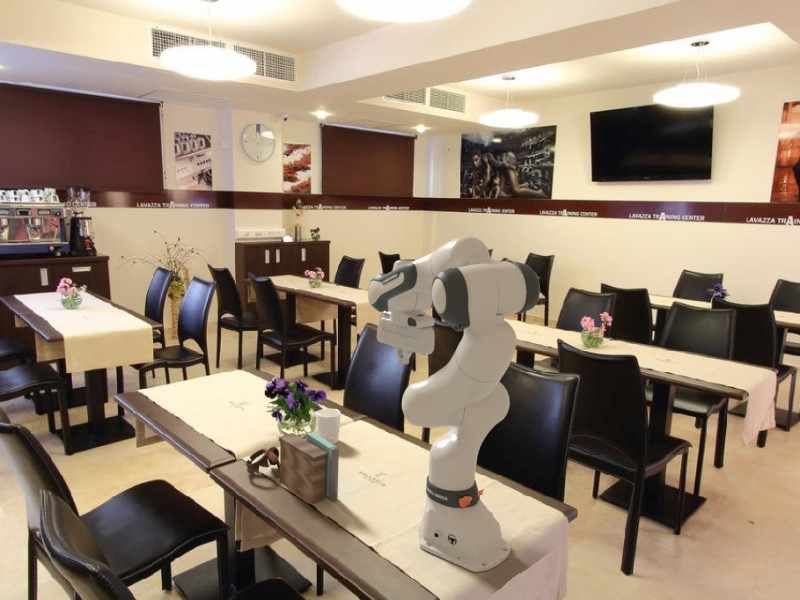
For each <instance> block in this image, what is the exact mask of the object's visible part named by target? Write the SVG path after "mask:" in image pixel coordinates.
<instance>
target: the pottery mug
mask: <svg viewBox="0 0 800 600" xmlns="http://www.w3.org/2000/svg"><path fill="white" fill-rule="evenodd" d="M279 450H280V449H278V447H276V446H272V447H270V448H268V449H267V448H261V449H258V450H257V451H255V452H253V454H251V455H250V456H249V459H247V461H245V466H246V468H247V469H246V472H247V473H249V474H253V473H257V474H260V467H261V468H269V467H270V466H276V467H277V469H276V471H275V474H276V476H277V478H278V479H280V460H279V459H280V451H279ZM260 456H262V457H261V458H260V459H258V460H257V461H255V460H256V459H257V458H259V457H260Z"/></svg>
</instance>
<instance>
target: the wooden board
mask: <svg viewBox="0 0 800 600" xmlns="http://www.w3.org/2000/svg"><path fill="white" fill-rule="evenodd" d="M278 442H280V443H279V448H280V449H279V450H280V451H279V459H280V460H279V462H280V477H279V481H280V482H281V483H282V482H283V483H282V484H284V486H287V487H288V488H289V489H291V490H292V491H293V492H295V493H297V494H298V495H300V496H301V497H303V498H304V499H306V501H308V502H310V503H311V504H316V503H318V502H321V501H323V500H325V499H326V495H325V485H326V457H328V452H326V451H324V450H322V449H320V448H319V447H317V446H315V445H313V444H312V443H310V442H308V441H307V439H304V438H303V437H300V436H299V435H298V434H295V433H294V432H292V433H287V434H284V435H282V436H278Z"/></svg>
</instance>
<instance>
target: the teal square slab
mask: <svg viewBox="0 0 800 600" xmlns="http://www.w3.org/2000/svg"><path fill="white" fill-rule="evenodd" d="M306 441H308V442H310V443H312V444H313V445H315V446H317V447H319V448H320V449H322V450H324V451H326V452H328V457H326V485H325V497H327V498H328V499H329V500H330V501H331V500H332V501H333V500H334V501H335V500H337V499H338V498H339V496H338V494H339V493H338V492H339V488H338V487H339V460H340V459H339V458H340V457H339V456H340V453H339V452H340V451H339V450H340V449H339V448H340V447H339V446H336V445H335V444H331V443H330V442H328V441H327V440H325V439H323V438H322V437H320V436H319V435H318V433H315V432H314V431H312V432H308V433H306Z"/></svg>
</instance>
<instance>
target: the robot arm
mask: <svg viewBox="0 0 800 600" xmlns="http://www.w3.org/2000/svg"><path fill="white" fill-rule="evenodd" d="M368 284H369V285H368V289H367V298H368V302H369V304H370V306H371V307H372V308H373V309H375V311H377V312H378V313H380V315H379V320H378V324H377V330H376V331H377V332H376V339H377V342H379V343H381V344H385V345H389V346H392V347H394V349H395V350H394V352H395V353H396V355H397V363H399V364H403V365H404V366H405V365H409V363H410V358H411V356H412V355H413V353H415V354H419V355H423V356H425V355H430V354H432V353H433V352H434V351H435V342H436V341H435V339H436V338H435V337H436V334H435V329H434V328H433V326H435V319H434V317H433V316H431V315H429V314H428V313H426V312H425V311H427V310H431V309H432V308H434V310H435V313H437V315H438V316H439V317H440V318H441V319H442V320H443V321H444V322H445V323H447V324H448V325H449V326H450V328H452V329H453V330H454V331H456V332H463V336H462V338H461V340H460V341H459V343H458V345H457V347H456V350H455V351H454V353H453V355H452V356H451V359H449V362H448V363H447V364H446V365H444V366H443V367H442V368H441V369H439V370H437V371H436V372H435V373H433V374H432V375H430V376H428V377H426V378H424V379H421V380H419V381H417V382H413V383H410V384H409V385H408V386H407V387H406V389H405V390H404V392H403V395H402V399H401V410H402V412H403V415H404V418H405V419H406V420H407V422H408V423H409V424H411V426H415V427H421V428H428V429H437V428H438V429H439V428H441V429H442V428H450V429H449V430H448V431H447V433H445V434H444V435H443V436H441V437H439V438H438V439H437V438H436V440H435V441H434V442H433V443H432V445H431V447H430V450H429V463H428V464H429V465H428V475H427V478H426V482H425V483H426V484H425V494H426V502H425V508H424V513H423V517H422V520H421V523H420V526H419V529H418V535H419V537H420V541H419V548H420V549H421V550H424V551H426V552H428V553H430V554H433V555H435V556H438V557H439V558H442V559H444V560H446V561H448V562H450V563H452V564H455V565H457V566H460V567H461V568H464V569H466V570H469V571H471V572H474V573H481V572H485V571H489V570H491V569H493V568H495V567H497V566H499V565H500V564H501V563H503V562H504V561H505V560H506V559H507V558H508V557H509V556H510V554H511V551H512V550H511V544H510V543H509V541H506V540H505V539H504V538H503V537H502V530H501V525H500V523H499V521H498V520H497V519H496V518H495V517H494V514H493V512H492V511H491V510H489V508H488V507H487V506H486V505H485V504H484V503H483V501H482V500H481V496H482V495H484V490H485V489H483V488H482V489H481V490H479V488H478V484H477V480H476V470H477V460H478V455H479V451H480V448H481V446H482V443H483V442H484V440H485V438H486V437H487V435H488V434H489V433H490V431H491V430H492V429H493V428H494V427H495V426H496V425H497V424H499V423H500V422H502V421H503V420H504V419H505V417H506V416H507V414H508V411H509V409H510V395H509V392H508V391H507V389H506V387H505V386H504V385H503V383H501V382H500V381H501V379H502V378H503V376H504V375H505V373H506V371H507V370H508V368H509V366H510V364H511V362H512V360H513V357H514V355H515V351H516V347H517V342H518V341H517V339H518V338H517V335H516V331H515V329H514V328H513V326H512V325H511V324H510V323H509V322H508V321H506V320H505V317H506V316H511V315H520V314H524V313H526V312H528V311H530V310H532V309H534V308H535V307H536V305H537V303H538V301H539V298H540V294H541V286H540V285H541V284H540V281H539V277H538V274H537V273H536V272H535V271H534V269H533V268H532V267H530V266H529V265H528V264H526V263H522V262H518V261H514V260H512V259H510V258H507V257H503V258H502V259H500V260H494V259H493V258H492V257H491V255H490V251H489V248H488V247H487V245H486V244H485V242H483V241H482V240H481V239H479V238H477V237H474V236H471V235H467V236H466V235H464V236H461V237H460V236H459V237H456V238H454V239H451V240H449V241H446V243H444V244H442V245H441V246H440V247H438V248H437V249H435V250H434V251H432V252H430V253H428V254H426V255H423V257H419V258H418V259H411V258H409V259H408V258H407V259H406V258H405V259H398V260H396V261H395V262H394V263H393V267H392V271H390V272H388V273H378V274H377V273H376V275H375V276H374V277H372V278H371V280H370V281H369V283H368Z"/></svg>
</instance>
